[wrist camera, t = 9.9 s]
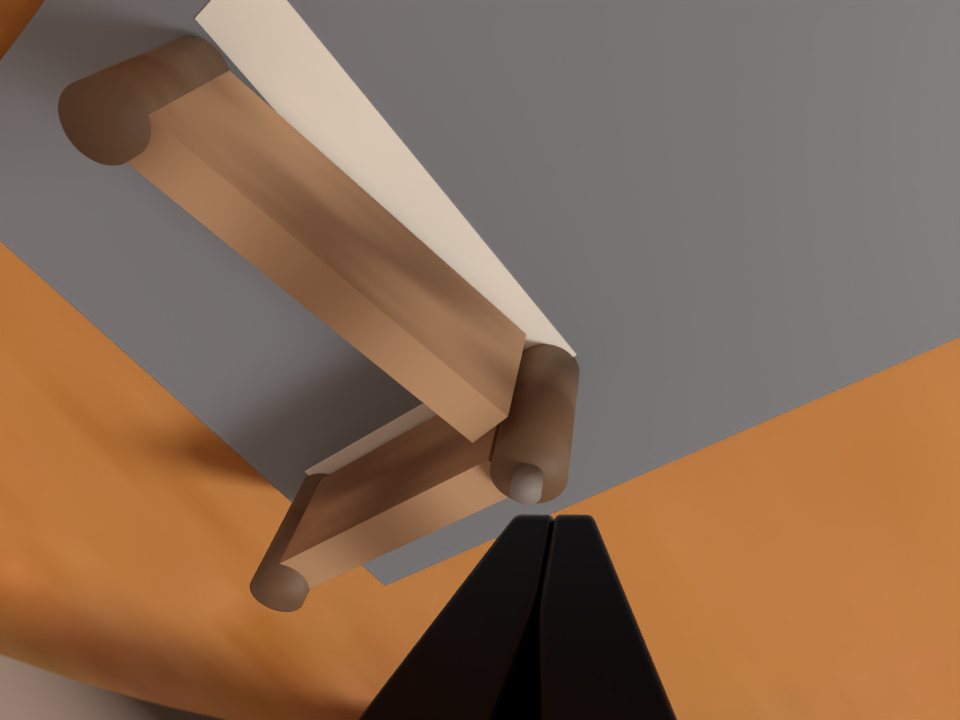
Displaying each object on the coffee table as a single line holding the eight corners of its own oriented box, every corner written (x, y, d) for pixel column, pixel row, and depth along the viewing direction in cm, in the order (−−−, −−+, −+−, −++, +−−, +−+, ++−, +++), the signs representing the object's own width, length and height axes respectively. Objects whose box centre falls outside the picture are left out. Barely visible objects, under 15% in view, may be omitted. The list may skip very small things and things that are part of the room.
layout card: (387, 576, 27) (384, 586, 27) (-70, 163, 21) (-82, 168, 20) (1174, 231, 16) (1186, 240, 16) (732, -901, 10) (736, -930, 9)
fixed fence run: (332, 507, 26) (273, 637, 22) (295, 473, 25) (226, 600, 21) (592, 370, 21) (582, 504, 17) (555, 324, 20) (533, 451, 16)
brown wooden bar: (531, 330, 20) (511, 423, 16) (490, 363, 20) (463, 458, 17) (184, 19, 17) (78, 60, 13) (152, 73, 17) (45, 124, 14)
